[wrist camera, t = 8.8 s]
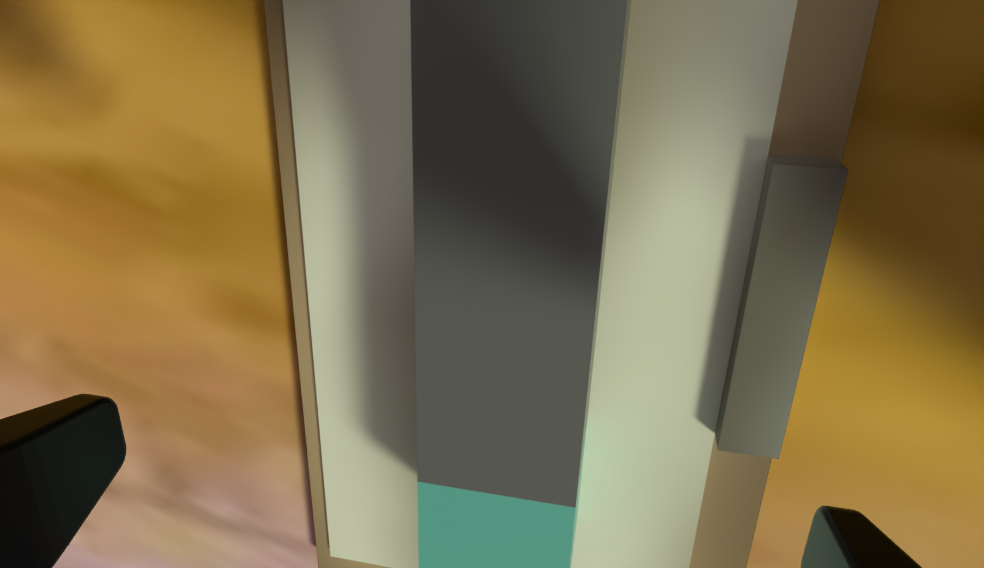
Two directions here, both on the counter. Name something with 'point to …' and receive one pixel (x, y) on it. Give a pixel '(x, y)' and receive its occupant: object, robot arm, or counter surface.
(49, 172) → the counter surface
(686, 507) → the cream flat piece
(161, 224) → the counter surface
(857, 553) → the robot arm
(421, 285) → the dark gray rectangular block
